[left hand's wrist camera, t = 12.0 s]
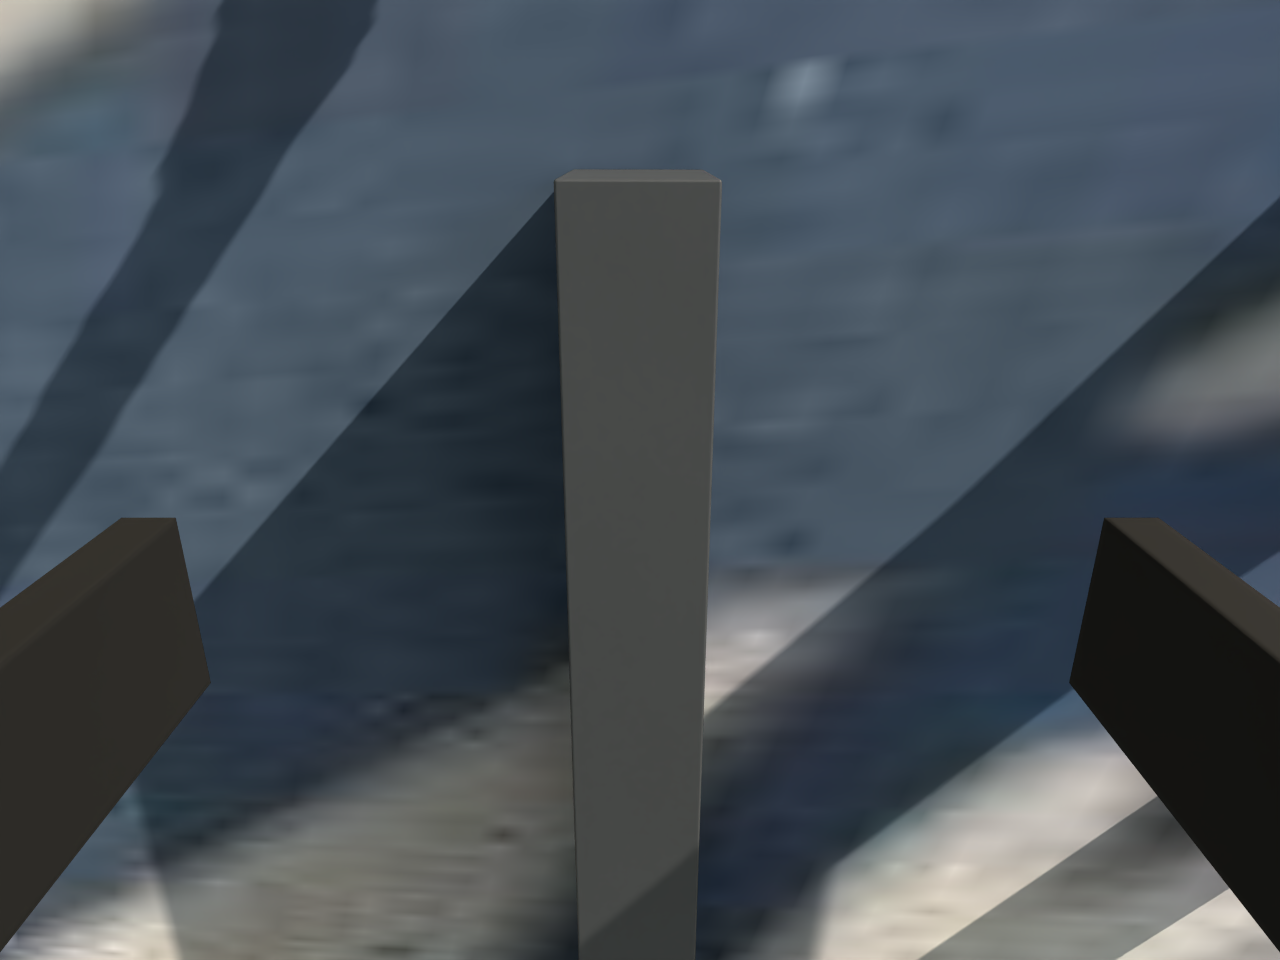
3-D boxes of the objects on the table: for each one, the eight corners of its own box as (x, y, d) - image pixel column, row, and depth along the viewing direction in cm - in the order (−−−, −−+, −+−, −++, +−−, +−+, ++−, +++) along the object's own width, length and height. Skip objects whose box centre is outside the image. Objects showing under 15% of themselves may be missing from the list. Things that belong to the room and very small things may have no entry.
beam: (571, 169, 33) (553, 179, 26) (704, 169, 33) (722, 179, 26) (595, 1144, 54) (589, 1298, 47) (677, 1144, 54) (683, 1298, 47)
